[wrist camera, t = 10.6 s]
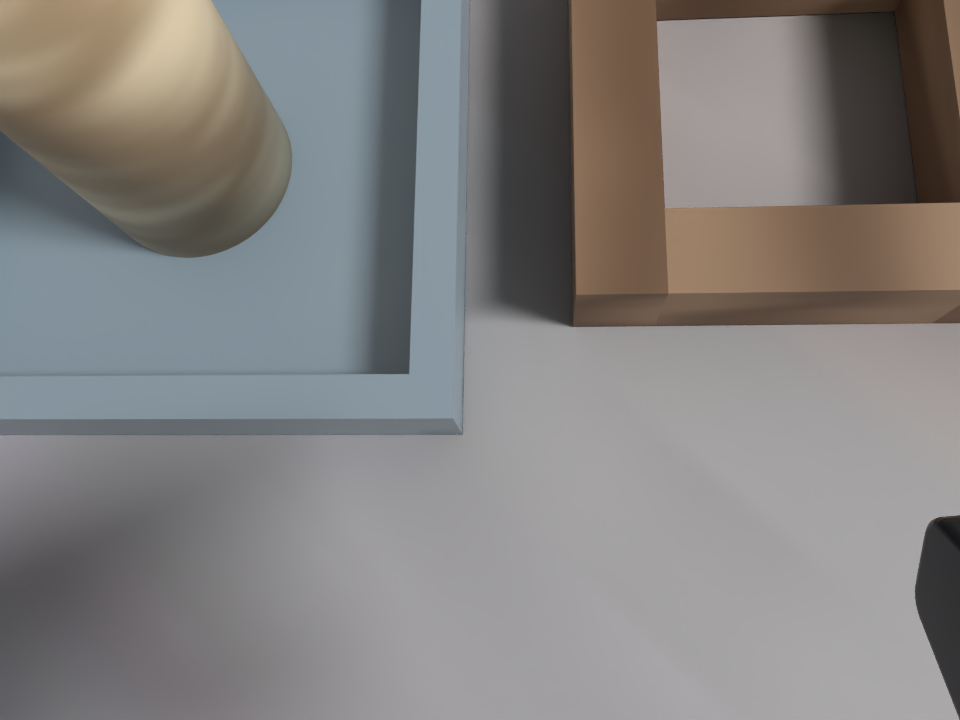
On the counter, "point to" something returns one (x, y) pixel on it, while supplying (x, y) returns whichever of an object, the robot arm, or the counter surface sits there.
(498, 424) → the counter surface
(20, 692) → the counter surface
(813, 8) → the socket block
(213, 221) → the dowel
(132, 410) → the tray
